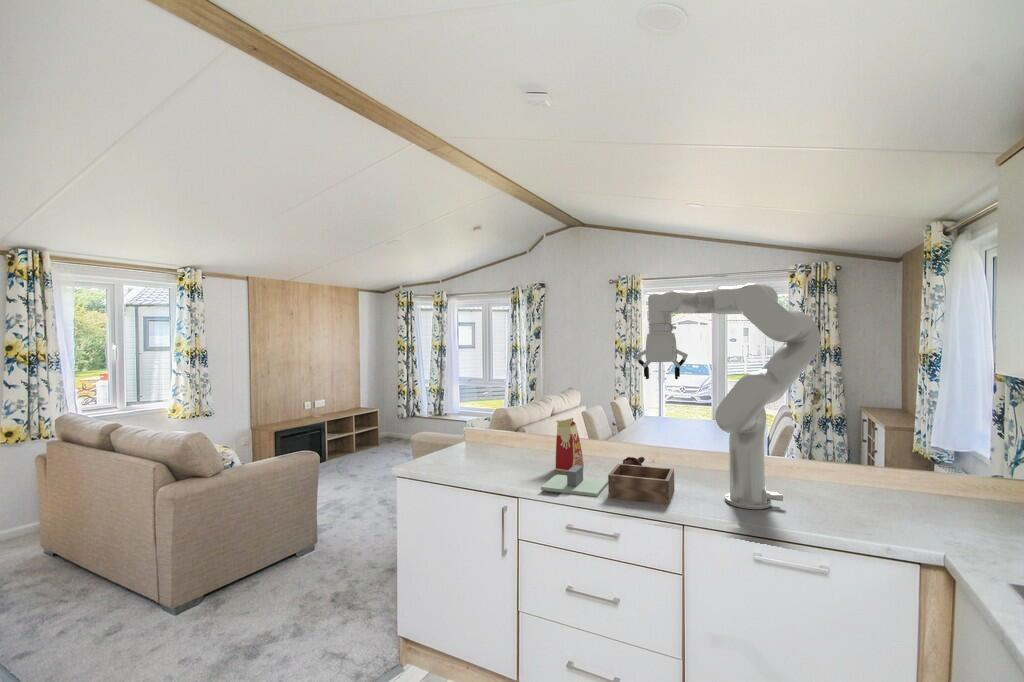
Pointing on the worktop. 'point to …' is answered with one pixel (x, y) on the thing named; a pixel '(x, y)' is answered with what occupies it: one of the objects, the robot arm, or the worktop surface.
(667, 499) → the box
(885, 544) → the worktop surface
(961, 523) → the worktop surface
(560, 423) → the milk carton
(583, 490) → the lid
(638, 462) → the icecream
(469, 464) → the worktop surface
